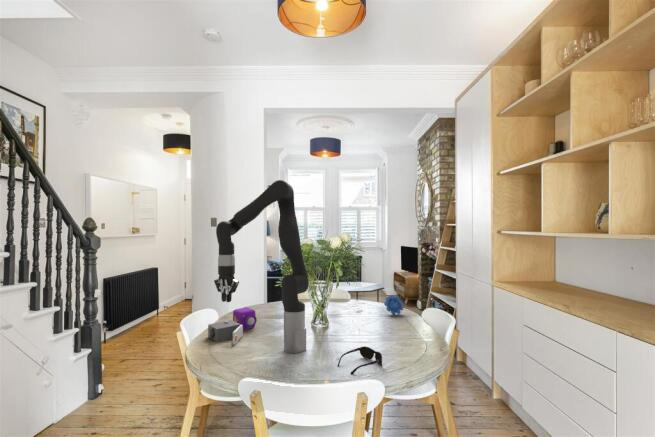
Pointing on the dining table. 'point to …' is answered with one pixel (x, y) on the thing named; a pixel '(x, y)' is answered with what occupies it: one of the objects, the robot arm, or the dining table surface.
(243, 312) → the toy camera
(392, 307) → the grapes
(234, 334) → the side door
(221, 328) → the camera case
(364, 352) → the sunglasses
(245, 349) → the dining table surface
